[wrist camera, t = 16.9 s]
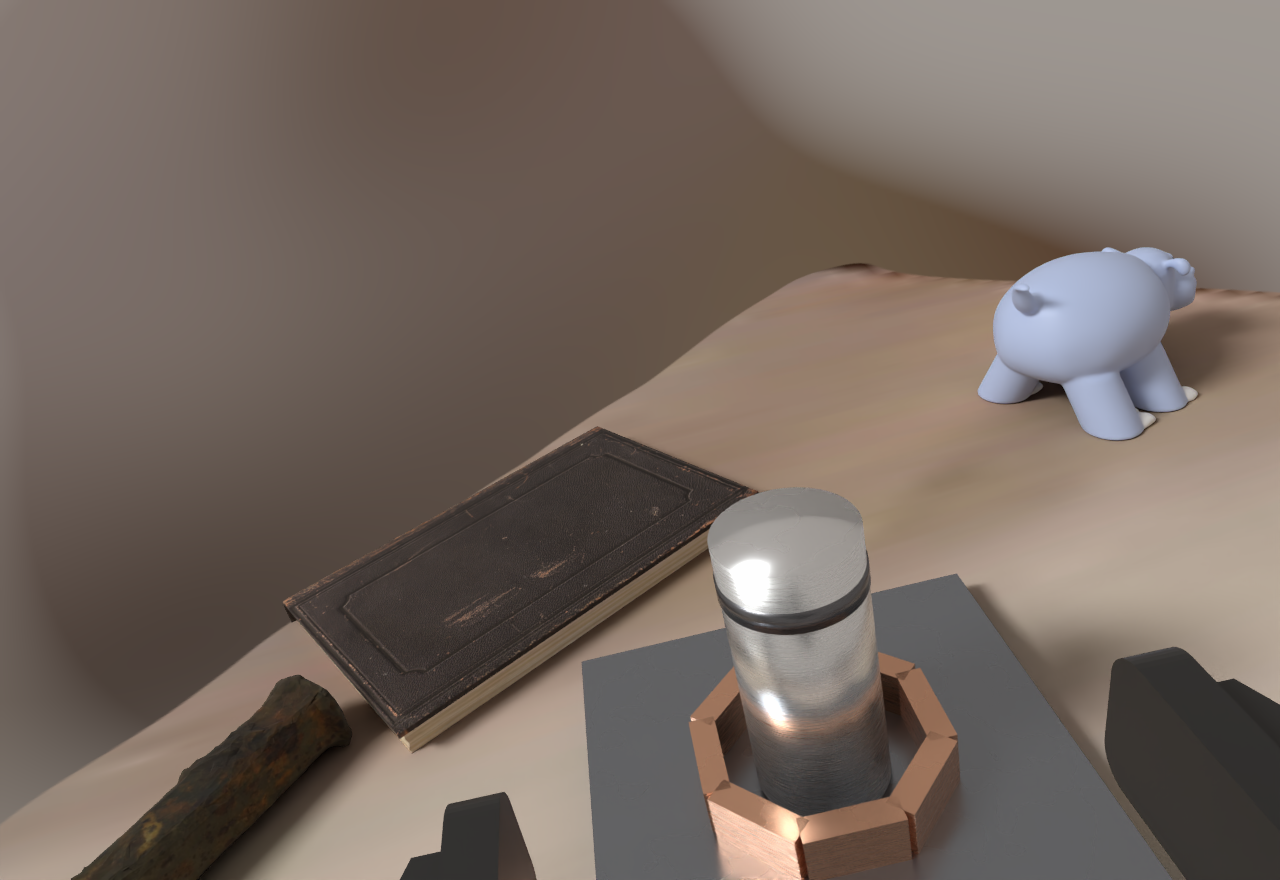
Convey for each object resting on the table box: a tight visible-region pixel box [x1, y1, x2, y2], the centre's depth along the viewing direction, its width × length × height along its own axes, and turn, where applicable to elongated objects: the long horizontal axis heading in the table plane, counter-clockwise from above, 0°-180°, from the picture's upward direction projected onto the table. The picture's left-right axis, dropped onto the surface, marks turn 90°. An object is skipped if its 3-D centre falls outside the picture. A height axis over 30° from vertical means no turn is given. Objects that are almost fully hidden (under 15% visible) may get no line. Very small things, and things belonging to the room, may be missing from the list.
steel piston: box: [707, 487, 891, 817], centre depth 32 cm, size 5×5×11 cm
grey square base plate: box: [582, 574, 1172, 880], centre depth 34 cm, size 18×18×3 cm
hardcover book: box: [283, 427, 758, 753], centre depth 52 cm, size 16×23×2 cm
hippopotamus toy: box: [978, 247, 1198, 440], centre depth 55 cm, size 11×15×10 cm
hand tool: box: [71, 675, 352, 880], centre depth 36 cm, size 19×4×5 cm, turn 148°
